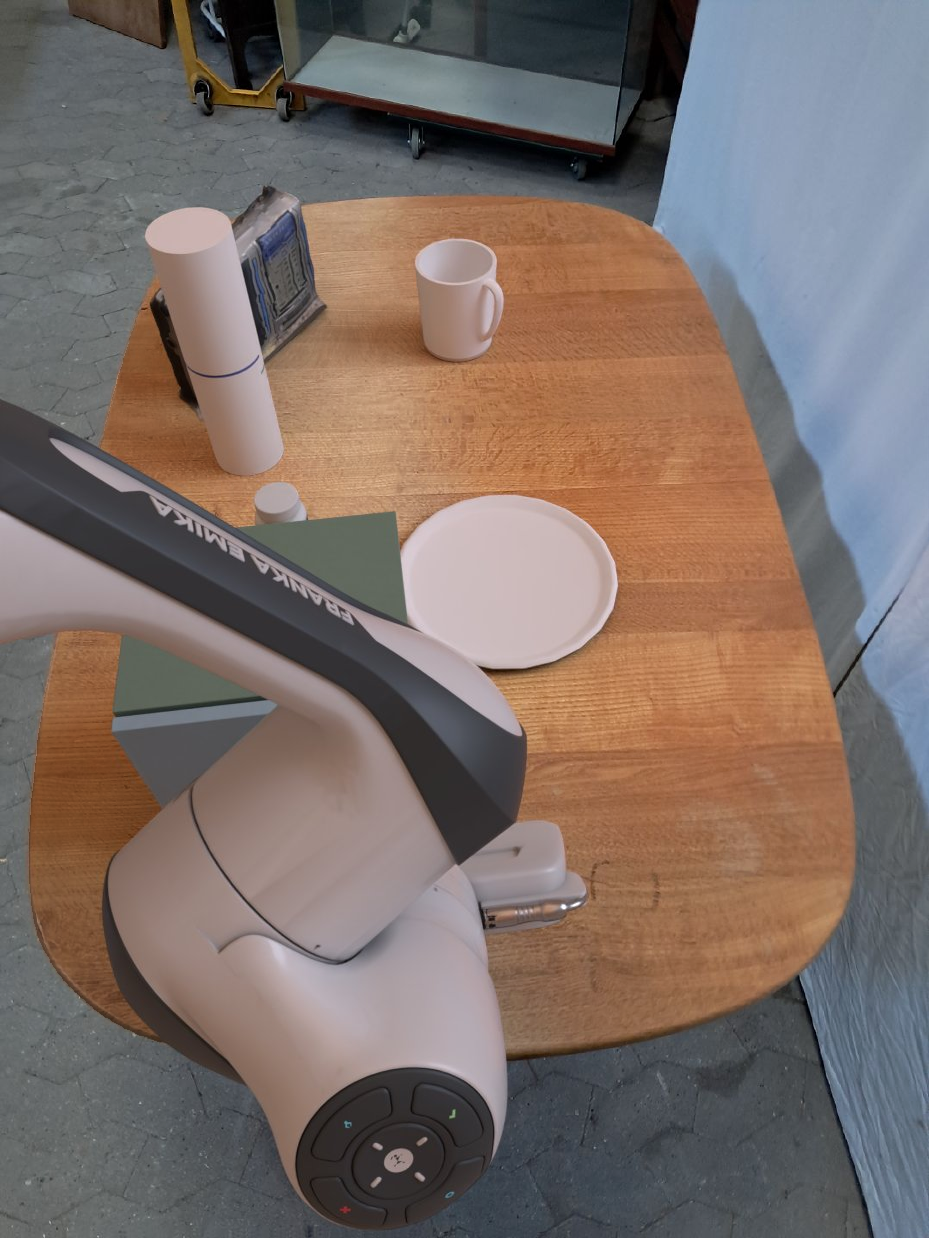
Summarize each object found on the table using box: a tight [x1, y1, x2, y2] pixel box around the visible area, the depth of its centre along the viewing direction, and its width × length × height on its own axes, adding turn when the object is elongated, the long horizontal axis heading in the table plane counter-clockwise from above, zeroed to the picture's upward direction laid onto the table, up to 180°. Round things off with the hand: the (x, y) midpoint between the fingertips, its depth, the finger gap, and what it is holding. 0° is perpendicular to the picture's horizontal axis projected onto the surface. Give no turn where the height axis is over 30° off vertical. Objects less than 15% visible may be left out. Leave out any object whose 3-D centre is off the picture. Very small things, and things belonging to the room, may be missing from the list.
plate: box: [400, 494, 619, 671], centre depth 84 cm, size 21×21×1 cm
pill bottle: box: [253, 481, 309, 525], centre depth 84 cm, size 5×5×8 cm
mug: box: [414, 238, 505, 363], centre depth 102 cm, size 11×9×10 cm
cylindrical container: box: [144, 206, 285, 477], centre depth 86 cm, size 7×7×25 cm
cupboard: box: [111, 510, 408, 718], centre depth 67 cm, size 14×18×20 cm
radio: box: [149, 185, 328, 422], centre depth 100 cm, size 23×9×15 cm, turn 143°
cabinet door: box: [110, 700, 278, 810], centre depth 60 cm, size 6×18×20 cm, turn 97°
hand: (396, 834), depth 60 cm, fingers open, 8 cm apart
